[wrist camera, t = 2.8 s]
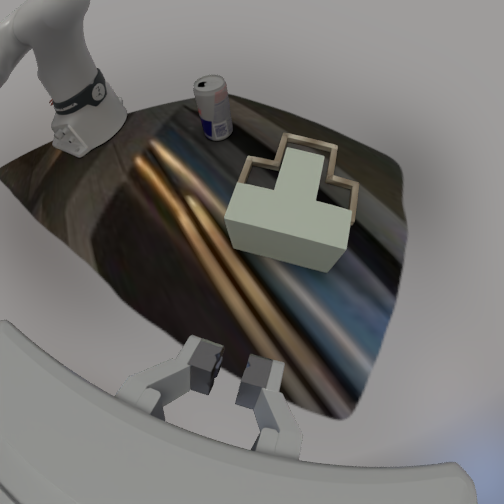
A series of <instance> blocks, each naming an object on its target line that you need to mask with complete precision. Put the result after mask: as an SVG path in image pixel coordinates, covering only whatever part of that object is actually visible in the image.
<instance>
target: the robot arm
mask: <svg viewBox="0 0 504 504" xmlns="http://www.w3.org/2000/svg"><path fill="white" fill-rule="evenodd" d="M89 4H90V0H27V1H26V2H24V3H23V4H22V5H20V6H19V7H18V8H17V9H16V10H14V11H13V12H12V13H11V14H9V15H8V16H7V17H6V18H5V19H4V20H2V21H1V22H0V88H1V87H2V85H3V84H4V83H5V82H6V81H7V79H8V77H9V75H10V74H11V72H12V71H13V69H14V68H15V66H16V65H17V64H18V63H19V61H20V60H21V59H22V58H23V57H24V55H25V54H26V53H27V52H28V51H29V50H31V49H33V51H34V54H35V57H36V61H37V65H38V78H39V80H40V81H41V83H42V84H43V86H44V87H45V88H46V90H47V92H48V93H49V95H50V96H51V98H52V100H53V102H52V103H51V105H54V109H55V111H56V113H55V116H54V119H53V121H52V125H51V128H52V130H53V131H54V133H55V134H54V137H55V138H54V140H53V143H52V145H53V146H54V147H55V148H57V149H60V150H62V151H65V152H67V153H69V154H72V155H74V156H76V157H79V158H80V157H83V156H84V155H85V154H87V153H88V152H89V151H90V150H91V149H93V148H95V147H97V146H99V145H101V144H103V143H104V142H106V141H107V140H109V139H110V138H111V137H112V136H114V135H115V134H116V133H117V132H118V131H119V129H120V128H121V127H122V125H123V124H124V122H125V120H126V117H127V110H126V108H125V107H124V106H123V100H122V98H121V97H117V95H116V94H115V92H114V91H113V89H112V88H111V86H110V85H109V83H108V82H106V81H105V79H104V77H103V74H102V73H101V71H100V70H99V69H98V68H96V66H95V64H94V62H93V60H92V58H91V55H90V53H89V51H88V49H87V46H86V43H85V39H84V33H83V19H84V16H85V13H86V12H87V10H88V7H89ZM52 100H51V101H52ZM51 101H50V102H51ZM50 102H49V103H50ZM223 352H224V346H222V345H219V344H216V343H214V342H211V341H208V340H205V339H202V338H199V337H197V336H194V335H191V336H190V337H189V338H188V340H187V342H186V343H185V345H184V346H183V348H182V350H181V351H180V353H179V354H178V356H177V358H176V359H173V358H172V359H170V360H168V361H165V362H163V363H161V364H158V365H156V366H153V367H151V368H149V369H146V370H144V371H141V372H139V373H137V374H134V375H131V376H129V377H128V378H127V380H126V381H125V382H124V384H123V385H122V387H121V388H120V389H119V391H118V392H117V393H116V395H115V396H112V395H110V394H108V393H107V392H105V391H103V390H102V389H100V388H98V387H97V386H95V385H93V384H92V383H90V382H88V381H87V380H85V379H84V378H82V377H81V376H79V375H78V374H76V373H74V372H73V371H72V370H70V369H68V368H67V367H66V366H64V365H63V364H61V363H60V362H59V361H57V360H56V359H54V358H53V357H52V356H50V355H49V354H48V353H46V352H45V351H44V350H42V349H41V348H40V347H39V346H38V345H36V344H35V343H34V342H32V341H31V340H30V339H29V338H28V337H26V336H25V335H24V334H23V333H22V332H21V331H20V330H18V329H17V328H16V327H15V326H14V325H13V324H12V323H10V322H9V321H7V320H1V321H0V504H478V503H477V496H476V489H475V485H474V482H473V480H472V479H471V477H470V476H469V475H468V474H467V473H466V471H465V470H464V469H463V468H462V467H461V466H460V465H459V464H457V463H456V462H446V463H439V464H431V465H420V466H407V467H356V466H355V467H354V466H341V465H330V464H321V463H313V462H306V461H299V455H300V449H301V444H302V438H303V434H302V432H301V430H300V428H299V426H298V425H297V422H296V420H295V418H294V416H293V414H292V412H291V410H290V408H289V406H288V404H287V402H286V400H285V398H284V396H283V394H282V393H280V392H279V389H280V384H281V380H282V375H283V370H284V365H285V364H284V363H283V362H279V361H275V360H272V359H268V358H264V357H261V356H257V355H253V354H250V357H249V360H248V363H247V367H246V369H245V371H244V374H243V377H242V380H241V383H240V387H239V392H238V395H237V398H236V403H235V404H237V405H240V406H243V407H246V408H249V409H253V411H254V414H255V417H256V420H257V423H258V426H259V429H260V434H259V436H258V437H257V439H256V441H255V443H254V445H253V447H252V448H251V450H247V449H244V448H240V447H236V446H233V445H229V444H226V443H223V442H219V441H216V440H213V439H210V438H207V437H204V436H201V435H199V434H196V433H193V432H190V431H187V430H185V429H183V428H180V427H178V426H175V425H173V424H170V423H168V422H165V416H164V411H163V406H165V405H167V404H168V403H170V402H172V401H173V400H175V399H177V398H178V397H180V396H182V395H183V394H185V393H187V392H188V391H190V389H191V390H193V391H196V392H199V393H202V394H206V395H209V393H210V391H211V389H212V387H213V384H214V378H216V377H217V375H218V373H219V370H220V367H221V364H222V359H223V358H222V354H223Z"/></svg>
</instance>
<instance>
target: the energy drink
mask: <svg viewBox="0 0 504 504" xmlns="http://www.w3.org/2000/svg"><path fill="white" fill-rule="evenodd" d="M193 91H194V95H195V99H196V103H197V107H198V110H199V114H200V118H201V122H202V126H203V129H204V133H205V136H206V137H207V138H208V139H210V140H214V141H219V140H223V139H226V138H227V137H228V136H230V135H231V133H232V131H233V127H232V120H231V113H230V106H229V99H228V92H227V85H226V82H225V81H224V78H223V77H221V76H218V75H208V76H204V77H202V78H199V79H198V80H197V81H196V82H195V83H194V90H193Z"/></svg>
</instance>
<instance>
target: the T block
mask: <svg viewBox="0 0 504 504" xmlns="http://www.w3.org/2000/svg"><path fill="white" fill-rule="evenodd" d="M323 162H324V156H321V155H318V154H314V153H310V152H305V151H301V150H297V149H293V148H288V147H287V149H286V152H285V156H284V159H283V162H282V166H281V169H280V172H279V176H278V179H277V182H276V186H275V189H274V190H271V189H266V188H262V187H257V186H253V185H248V184H244V183H239V182H237V185H236V187H235V190H234V192H233V195H232V198H231V200H230V203H229V206H228V209H227V211H226V214H225V217H224V220H225V223H226V227H227V230H228V233H229V236H230V239H231V242H232V245H233V248H234V249H238V250H242V251H245V252H249V253H253V254H257V255H261V256H264V257H268V258H272V259H276V260H280V261H283V262H287V263H291V264H295V265H299V266H302V267H306V268H310V269H314V270H318V271H321V272H325V273H327V272H328V271H329V270H330V269H331V268H332V267H333V265H334V264H335V263H336V262H337V260H338V259H339V258H340V257H341V256H342V254H343V253H344V252H345V251H346V248H347V242H348V236H349V230H350V223H351V216H352V211H351V210H348V209H344V208H341V207H337V206H334V205H330V204H326V203H323V202H319V201H316V197H317V192H318V187H319V182H320V177H321V172H322V167H323Z"/></svg>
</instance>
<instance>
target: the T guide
mask: <svg viewBox="0 0 504 504" xmlns="http://www.w3.org/2000/svg"><path fill="white" fill-rule="evenodd" d="M287 142H291V143H295V144H300V145H304V146H308V147H312V148H316V149H320V150H324V151H328V152H331V153H330V159H329V165H328V170H327V176H326V181H325V183H329V184H332V185H336V186H340V187H343V188H347V189H350V190H351V193H350V201H349V208H348V210H351V211H352V216H351V223H350V225H353V223H354V221H355V214H356V206H357V197H358V188H359V183H358V182H355V181H351V180H348V179H344V178H341V177H337V176H334V175H333V174H334V168H335V162H336V155H337V148H338V145H334V144H330V143H326V142H323V141H319V140H315V139H310V138H306V137H302V136H297V135H293V134H288V133H283V135H282V139H281V142H280V145H279V148H278V151H277V154H276V157H275V160H274V161H272V160H268V159H263V158H258V157H253V156H248V157H247V160H246V162H245V165H244V167H243V170H242V172H241V175H240V178H239V180H238V182H239V183H244V184H246V181H247V179H248V176H249V173H250V171H251V168H252V165H253V166H258V167H263V168H267V169H272V170H276V171H279V168H280V164H281V161H282V158H283V154H284V151H285V148H286V145H287Z"/></svg>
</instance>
